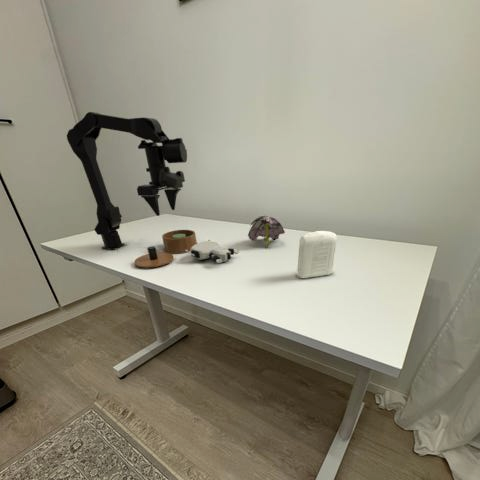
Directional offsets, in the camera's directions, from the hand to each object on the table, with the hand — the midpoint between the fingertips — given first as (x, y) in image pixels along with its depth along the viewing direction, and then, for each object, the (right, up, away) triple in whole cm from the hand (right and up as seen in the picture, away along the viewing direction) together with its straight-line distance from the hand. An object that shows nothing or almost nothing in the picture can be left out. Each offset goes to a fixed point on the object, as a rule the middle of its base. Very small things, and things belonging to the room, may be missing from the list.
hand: (166, 212), depth 101 cm
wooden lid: (-3, -19, -6) cm, 20 cm away
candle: (+4, -11, +6) cm, 13 cm away
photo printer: (+49, -26, -21) cm, 59 cm away
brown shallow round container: (+4, -12, +6) cm, 14 cm away
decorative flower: (+37, -10, +5) cm, 39 cm away
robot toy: (+18, -19, -6) cm, 27 cm away
